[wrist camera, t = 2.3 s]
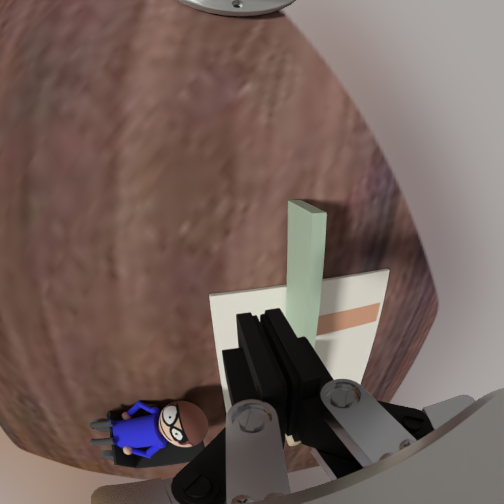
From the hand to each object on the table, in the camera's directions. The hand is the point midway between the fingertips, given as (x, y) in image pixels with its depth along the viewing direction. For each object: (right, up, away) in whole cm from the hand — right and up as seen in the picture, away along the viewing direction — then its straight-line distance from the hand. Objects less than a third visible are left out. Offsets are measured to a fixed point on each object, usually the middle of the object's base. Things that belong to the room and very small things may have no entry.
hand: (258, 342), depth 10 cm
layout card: (+5, -8, +18) cm, 20 cm away
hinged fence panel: (+3, +1, +13) cm, 13 cm away
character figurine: (-12, -15, +16) cm, 25 cm away
